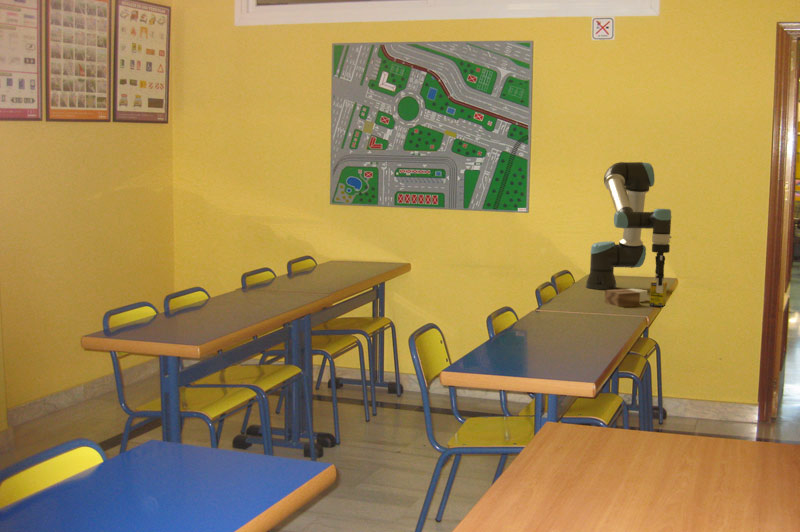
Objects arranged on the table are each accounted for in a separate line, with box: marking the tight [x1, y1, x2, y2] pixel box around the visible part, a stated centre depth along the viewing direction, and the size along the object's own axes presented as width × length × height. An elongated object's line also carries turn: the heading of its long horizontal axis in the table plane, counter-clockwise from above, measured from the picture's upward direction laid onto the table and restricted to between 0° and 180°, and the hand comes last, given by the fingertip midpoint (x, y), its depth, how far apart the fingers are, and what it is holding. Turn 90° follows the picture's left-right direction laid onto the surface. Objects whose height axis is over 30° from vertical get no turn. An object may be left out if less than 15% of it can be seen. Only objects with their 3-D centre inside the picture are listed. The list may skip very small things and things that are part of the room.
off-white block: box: [626, 288, 648, 303], centre depth 403 cm, size 8×8×5 cm
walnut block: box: [604, 288, 640, 307], centre depth 392 cm, size 11×11×6 cm
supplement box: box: [649, 280, 668, 308], centre depth 388 cm, size 6×6×11 cm
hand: (658, 290), depth 387 cm, fingers open, 13 cm apart
